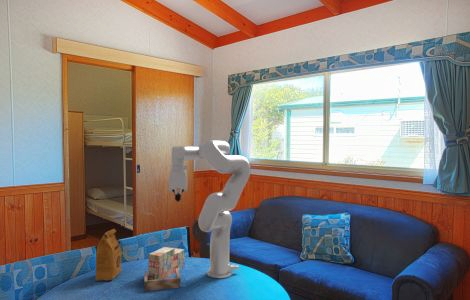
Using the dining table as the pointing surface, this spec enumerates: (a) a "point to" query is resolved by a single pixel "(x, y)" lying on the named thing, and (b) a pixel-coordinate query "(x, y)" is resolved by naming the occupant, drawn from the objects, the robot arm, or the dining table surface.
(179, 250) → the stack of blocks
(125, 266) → the dining table surface
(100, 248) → the coffee package
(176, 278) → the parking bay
